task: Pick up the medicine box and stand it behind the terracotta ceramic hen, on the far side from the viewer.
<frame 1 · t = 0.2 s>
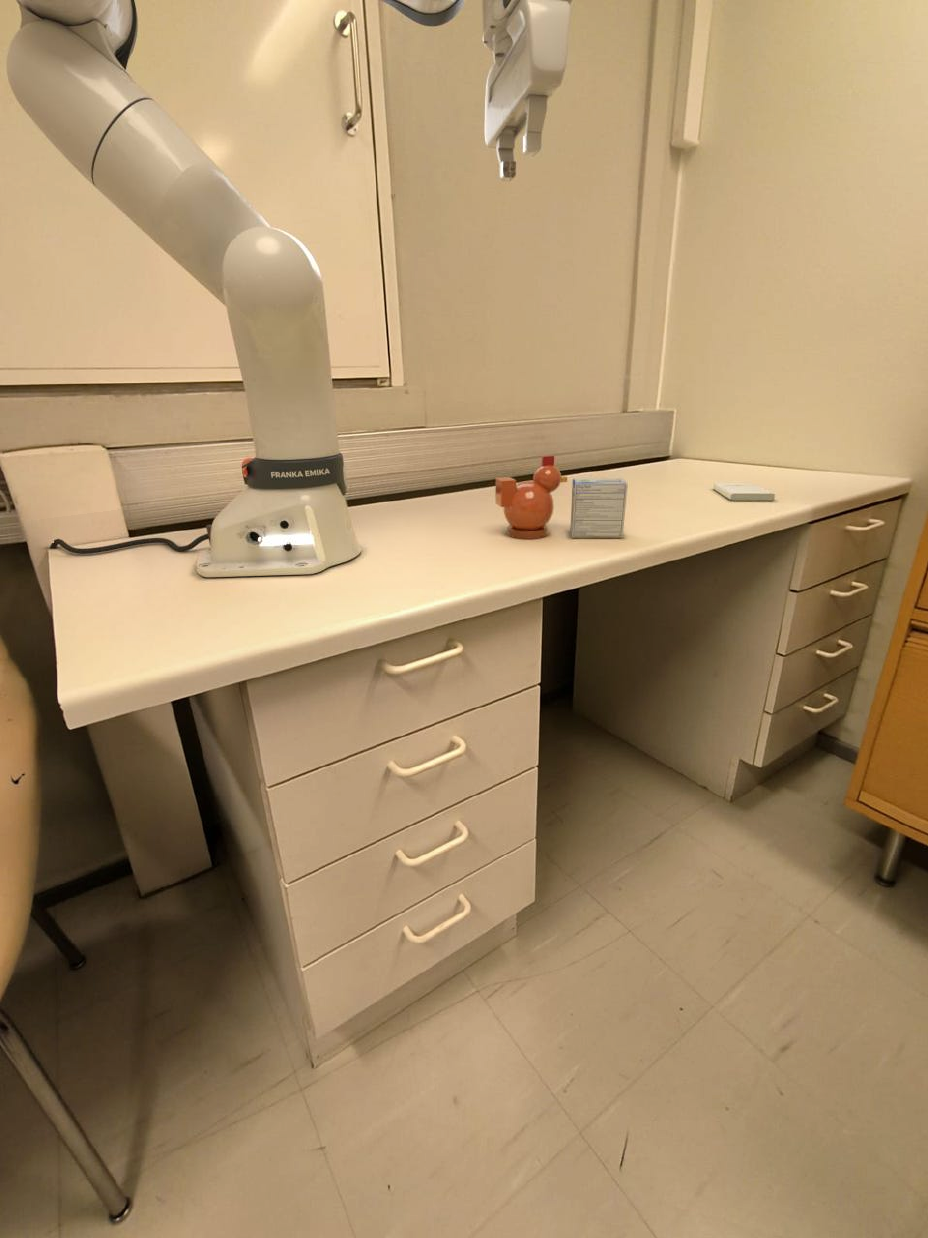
hand: (519, 167, 70), 47 cm above the table, tool pointing down, fingers open, 8 cm apart
hard drive: (741, 496, 116), on the table
medicine box: (595, 536, 90), on the table
ceramic hen: (527, 533, 91), on the table
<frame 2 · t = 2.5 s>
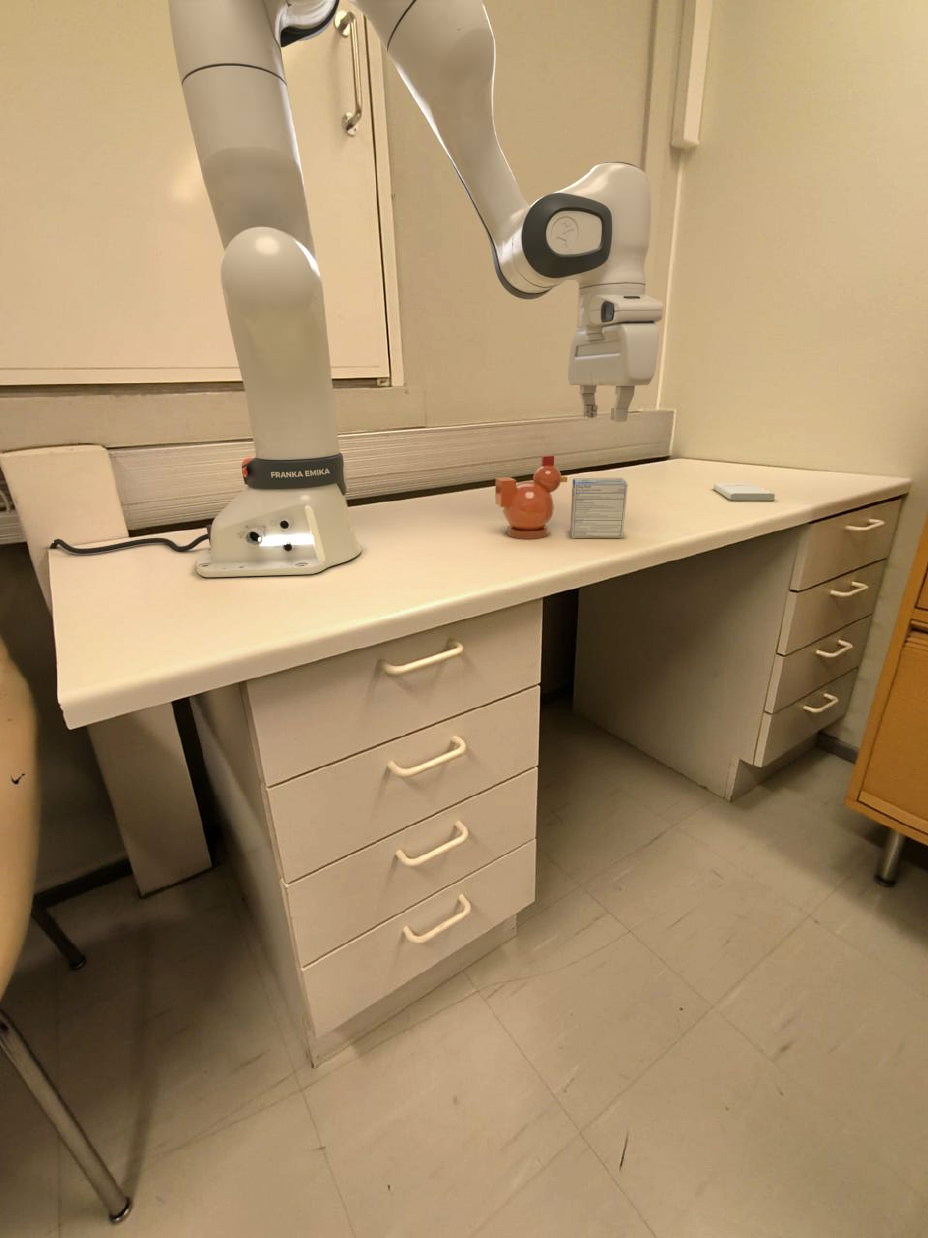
hand: (603, 419, 83), 17 cm above the table, tool pointing down, fingers open, 8 cm apart
nothing on the table moved.
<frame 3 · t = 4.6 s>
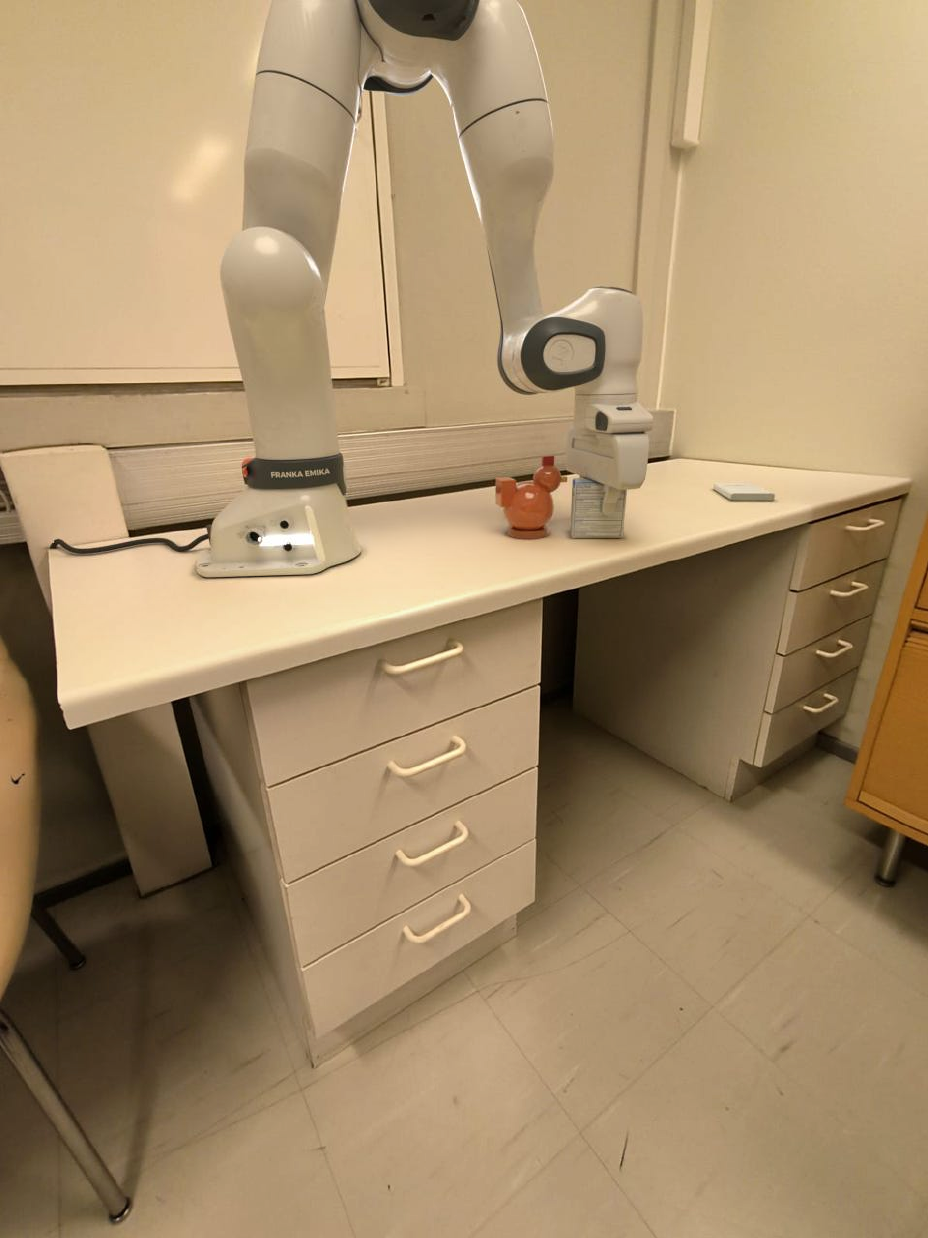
hand: (597, 509, 88), 4 cm above the table, tool pointing down, fingers closed on medicine box, 5 cm apart
medicine box: (595, 536, 90), on the table, touching gripper
everything else where it was.
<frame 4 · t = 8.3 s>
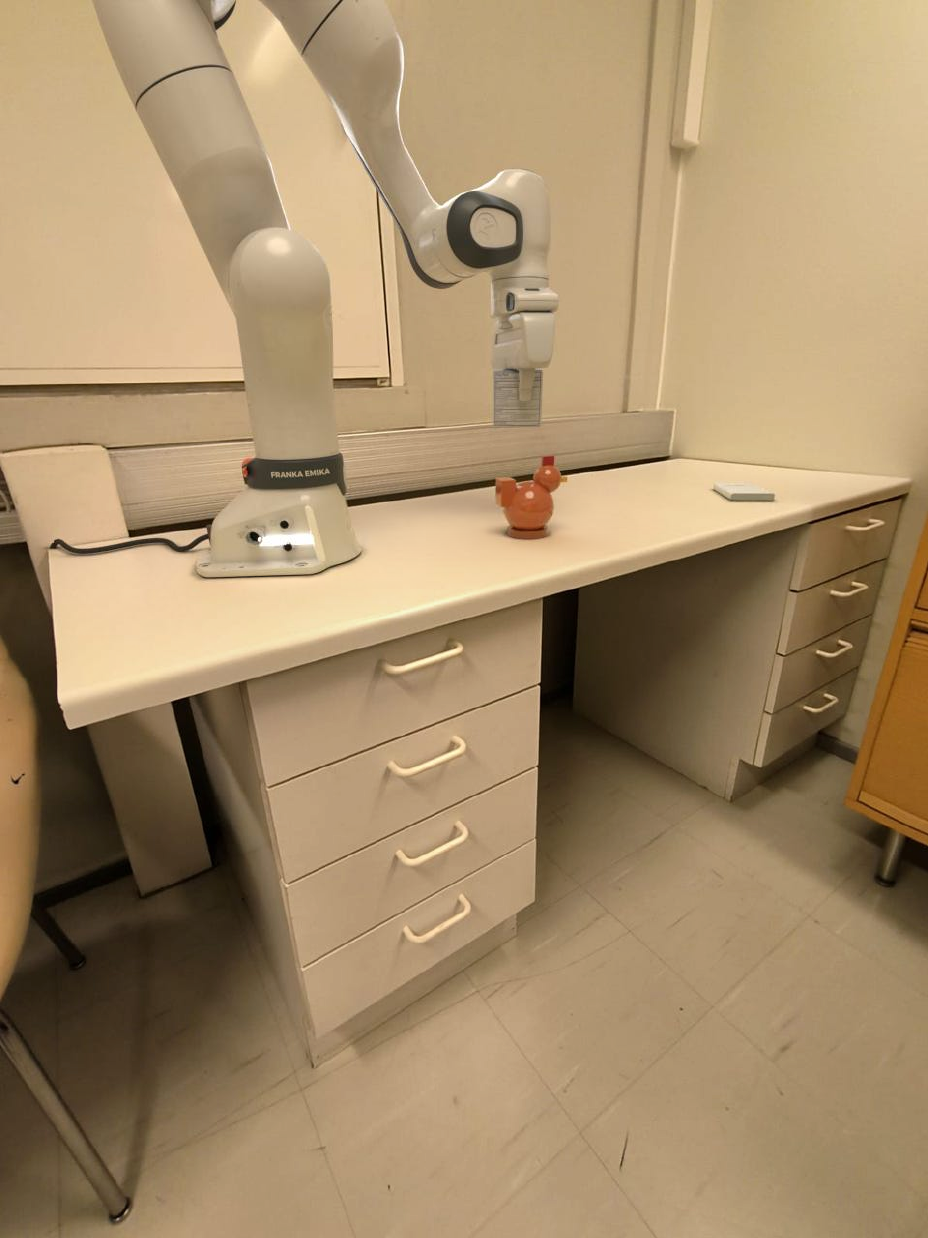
hand: (517, 400, 92), 20 cm above the table, tool pointing down, fingers closed on medicine box, 5 cm apart
medicine box: (517, 428, 94), point 16 cm above the table, touching gripper
everything else where it was.
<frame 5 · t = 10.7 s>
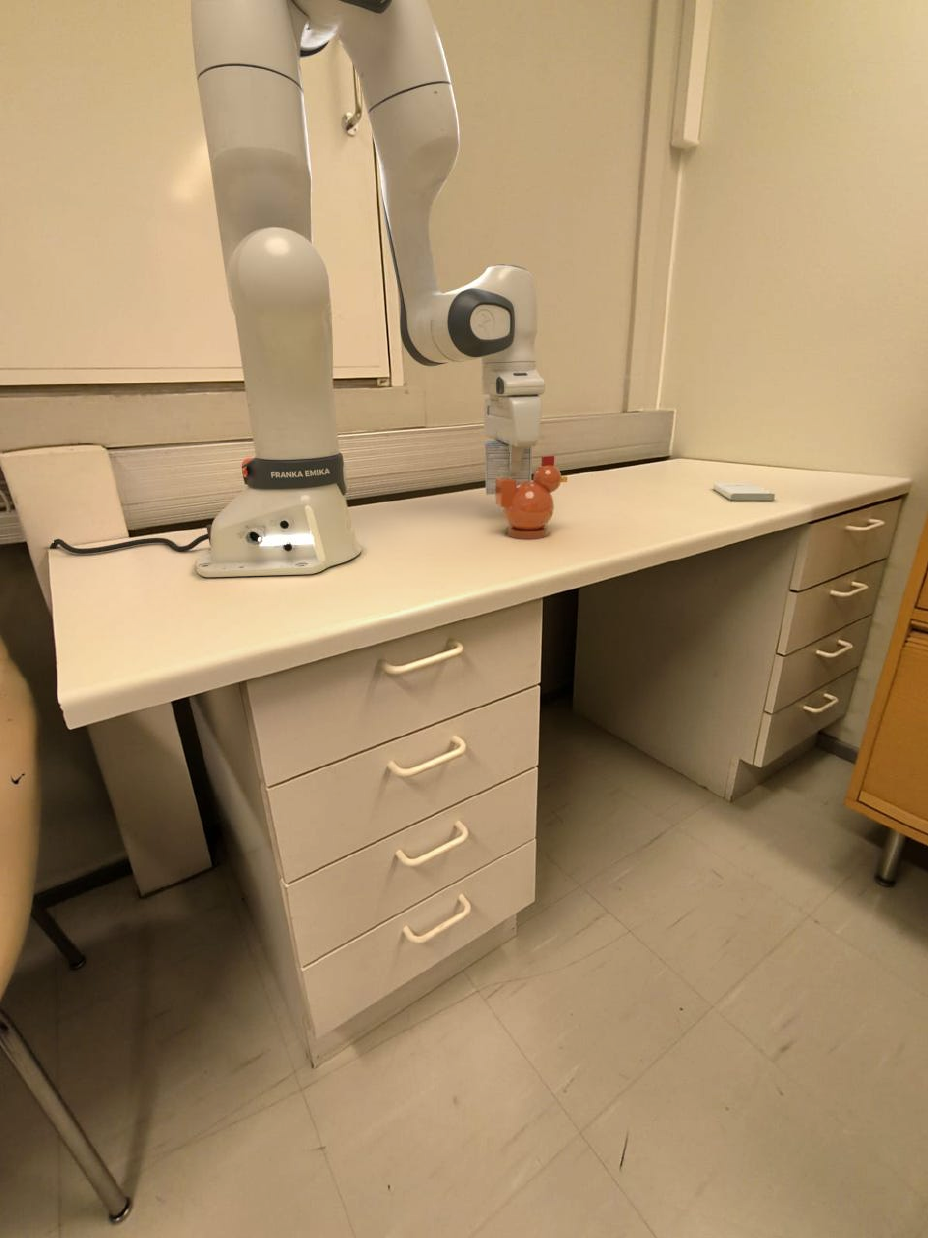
hand: (508, 468, 98), 9 cm above the table, tool pointing down, fingers closed on medicine box, 5 cm apart
medicine box: (508, 493, 99), point 4 cm above the table, touching gripper
everything else where it was.
when the fingers open (4 cm above the table, at t = 12.3 s): medicine box stays where it is, on the table.
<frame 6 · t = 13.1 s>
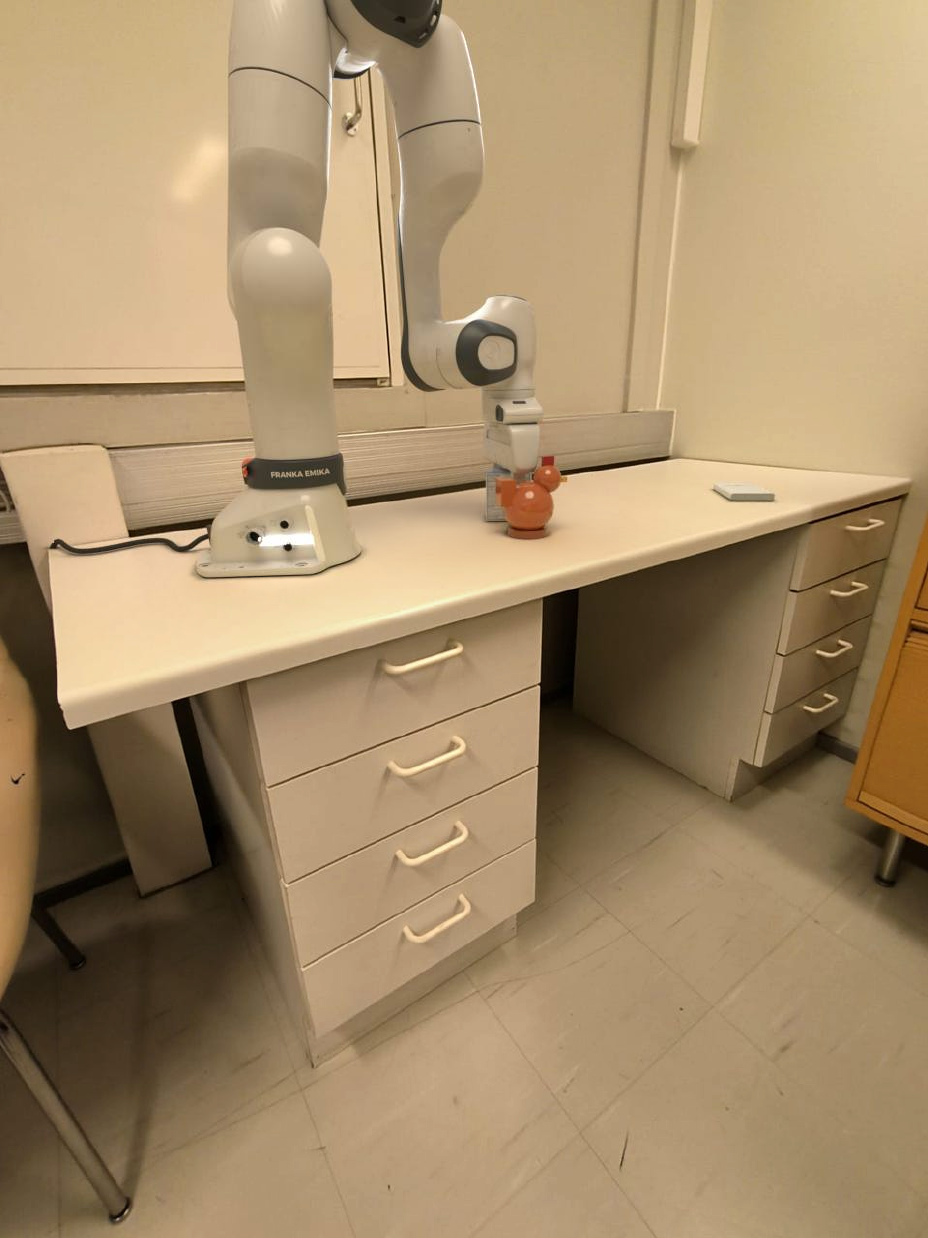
hand: (507, 492, 99), 5 cm above the table, tool pointing down, fingers open, 8 cm apart
medicine box: (508, 520, 101), on the table
everything else where it was.
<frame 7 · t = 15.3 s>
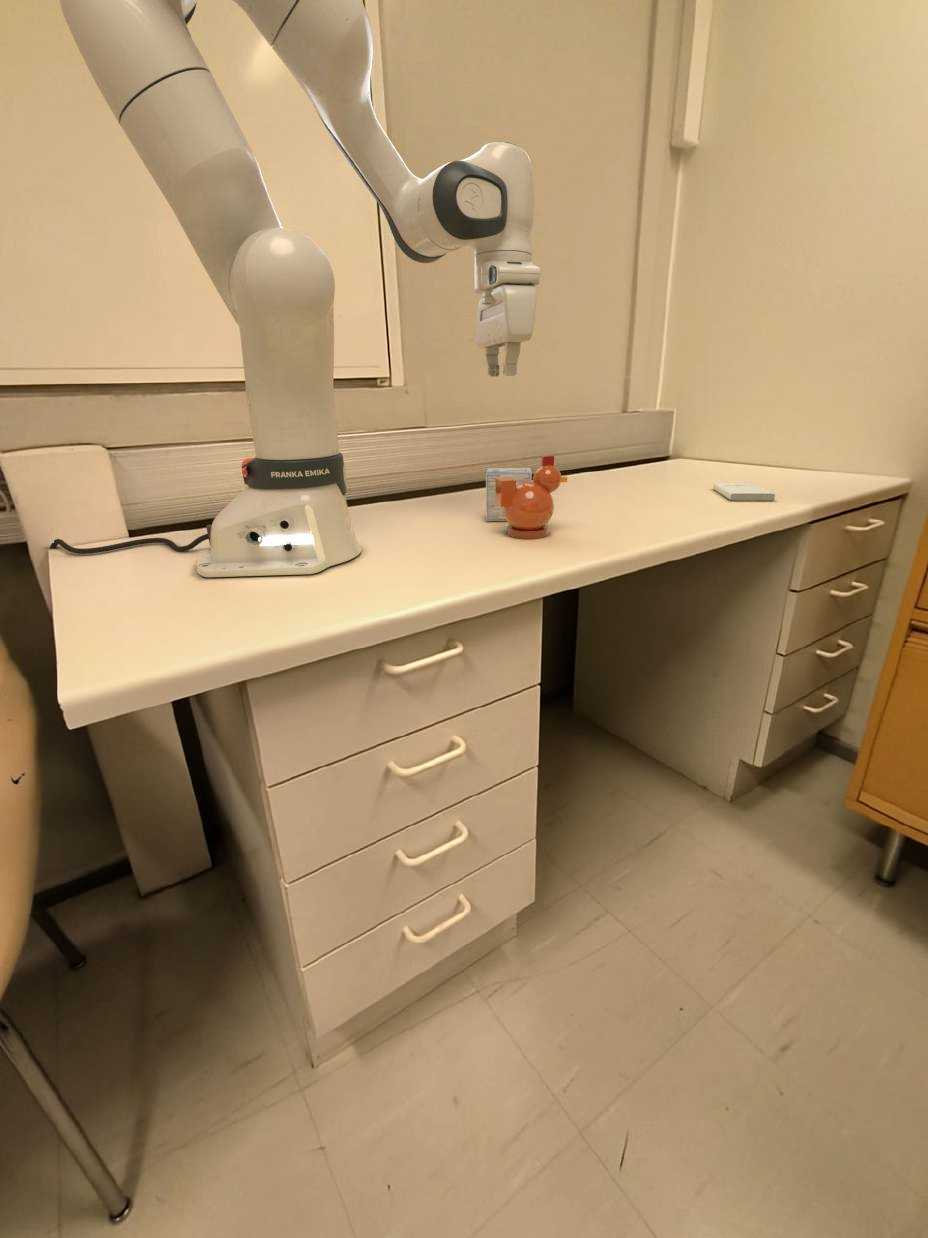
hand: (501, 376, 92), 24 cm above the table, tool pointing down, fingers open, 8 cm apart
nothing on the table moved.
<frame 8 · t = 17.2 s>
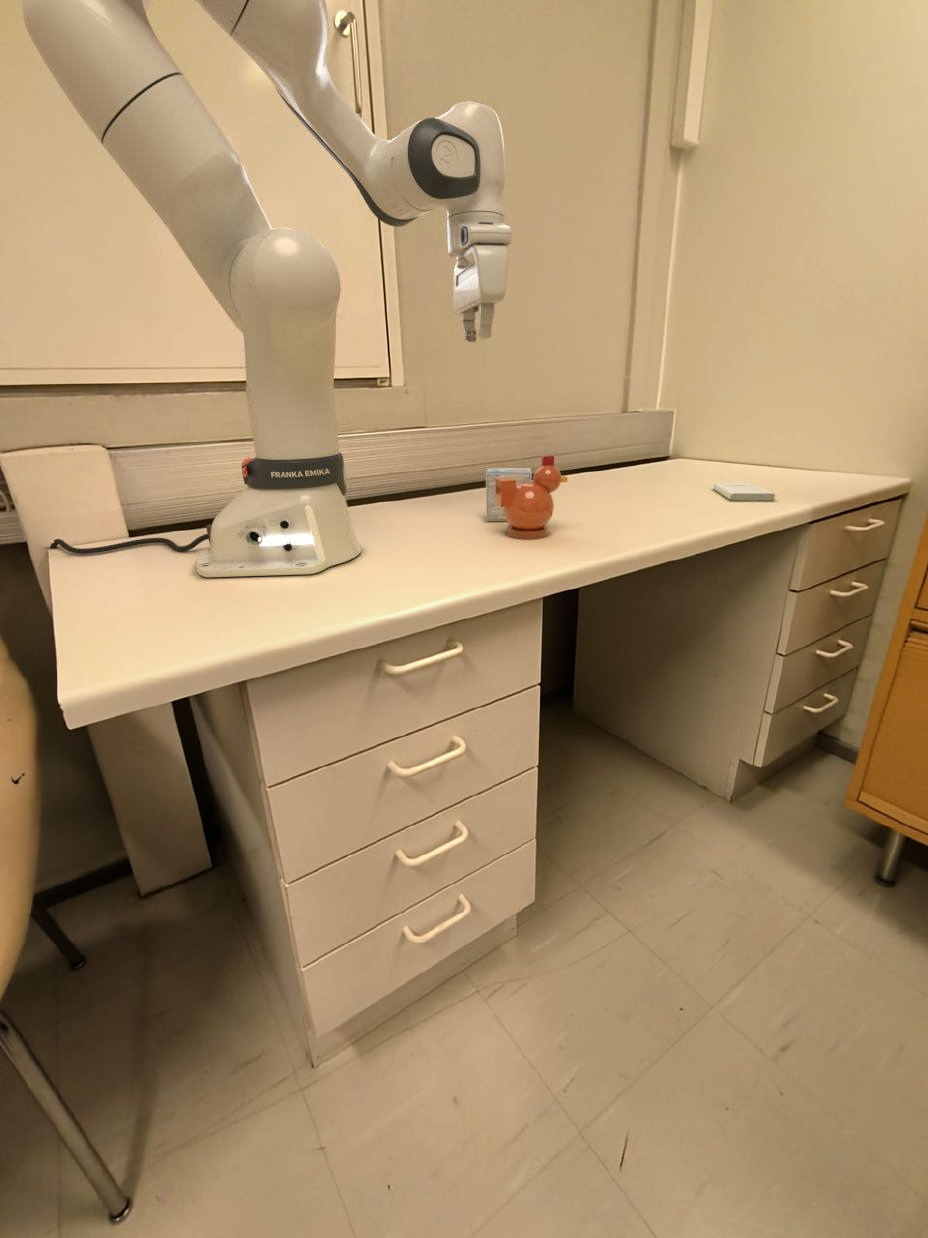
hand: (477, 340, 93), 29 cm above the table, tool pointing down, fingers open, 8 cm apart
nothing on the table moved.
at the end: medicine box inside the target area on the table beside the ceramic hen (0.4 cm from its centre), on the table; medicine box tilted 0°; the gripper is holding nothing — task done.
